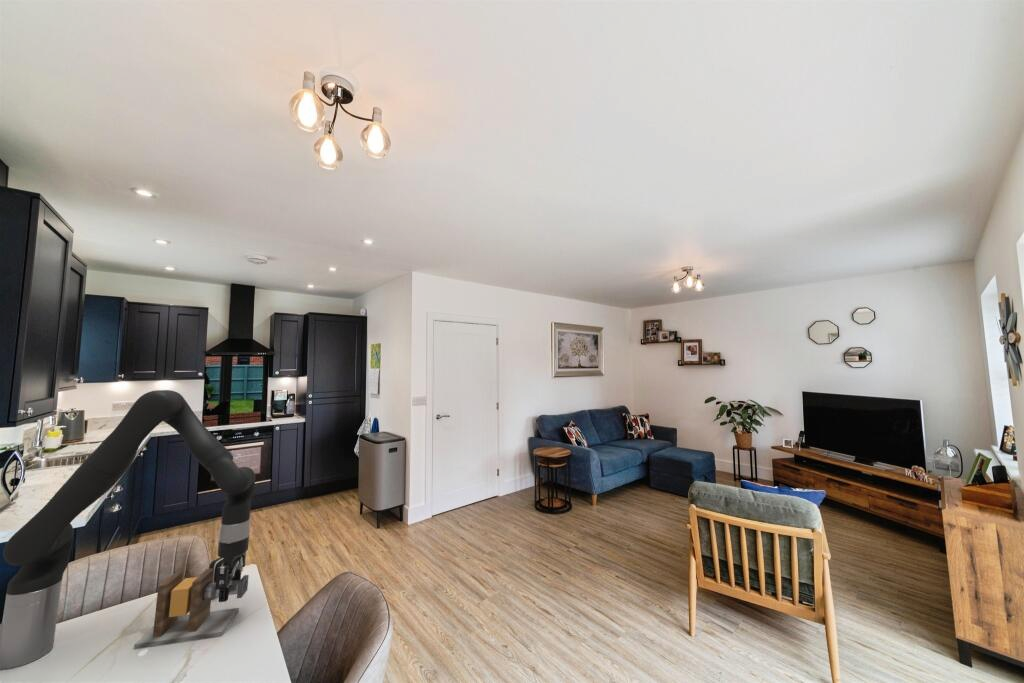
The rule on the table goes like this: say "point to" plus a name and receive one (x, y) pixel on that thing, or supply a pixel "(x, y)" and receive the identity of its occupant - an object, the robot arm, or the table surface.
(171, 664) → the table surface
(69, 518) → the robot arm
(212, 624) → the stand
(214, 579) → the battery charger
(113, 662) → the table surface
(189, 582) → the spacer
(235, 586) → the shaft
